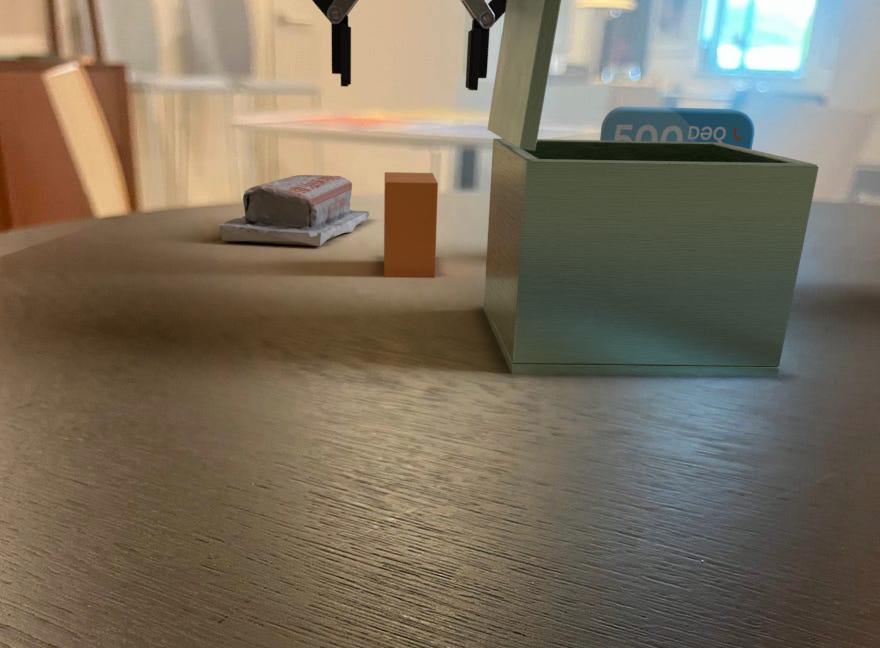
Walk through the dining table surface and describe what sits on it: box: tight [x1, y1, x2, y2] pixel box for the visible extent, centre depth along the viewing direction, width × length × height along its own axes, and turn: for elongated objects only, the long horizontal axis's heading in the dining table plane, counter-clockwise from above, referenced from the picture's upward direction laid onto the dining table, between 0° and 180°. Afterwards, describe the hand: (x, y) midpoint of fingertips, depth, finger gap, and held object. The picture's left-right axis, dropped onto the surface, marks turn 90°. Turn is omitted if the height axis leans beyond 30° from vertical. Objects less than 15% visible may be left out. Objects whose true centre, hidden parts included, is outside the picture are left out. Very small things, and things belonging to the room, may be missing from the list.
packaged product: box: [218, 174, 370, 247], centre depth 100 cm, size 18×5×10 cm
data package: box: [599, 106, 755, 150], centre depth 86 cm, size 12×4×12 cm, turn 82°
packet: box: [383, 171, 439, 279], centre depth 83 cm, size 4×8×7 cm, turn 1°
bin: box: [483, 138, 820, 378], centre depth 60 cm, size 15×17×11 cm
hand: (408, 87), depth 78 cm, fingers open, 9 cm apart
